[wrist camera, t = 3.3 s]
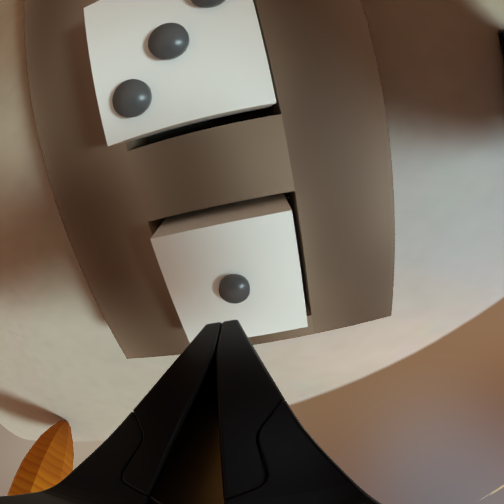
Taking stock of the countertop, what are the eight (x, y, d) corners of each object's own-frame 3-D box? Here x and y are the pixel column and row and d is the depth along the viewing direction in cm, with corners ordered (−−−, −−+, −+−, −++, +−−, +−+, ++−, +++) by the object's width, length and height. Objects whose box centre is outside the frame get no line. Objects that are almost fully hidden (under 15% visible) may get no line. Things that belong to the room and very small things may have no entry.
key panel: (285, -116, 5) (291, -142, 3) (371, 285, 14) (391, 315, 12) (54, -53, 6) (31, -68, 3) (140, 326, 15) (127, 358, 13)
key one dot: (279, 186, 12) (293, 212, 9) (295, 281, 14) (308, 329, 10) (172, 208, 12) (148, 241, 9) (200, 297, 14) (190, 348, 11)
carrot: (91, 442, 21) (58, 568, 8) (47, 421, 20) (4, 541, 7) (89, 419, 19) (46, 569, 6) (39, 396, 18) (-17, 533, 5)
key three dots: (242, 0, 8) (241, -45, 5) (266, 108, 10) (277, 102, 6) (124, 32, 8) (80, 6, 5) (145, 137, 10) (104, 147, 7)
